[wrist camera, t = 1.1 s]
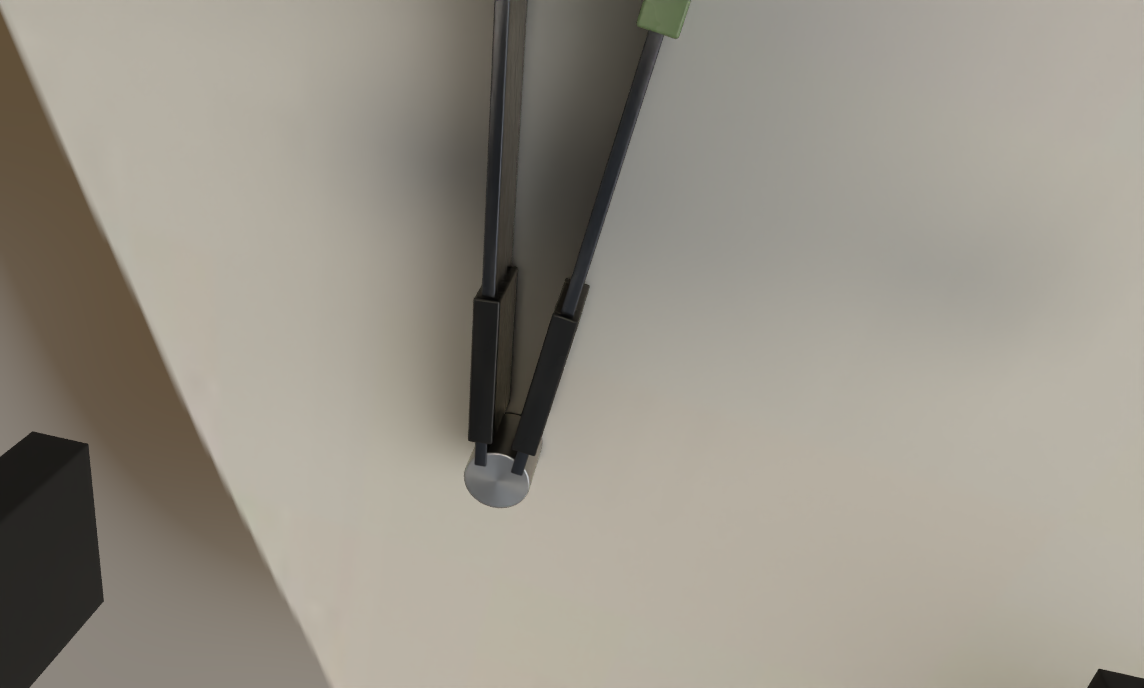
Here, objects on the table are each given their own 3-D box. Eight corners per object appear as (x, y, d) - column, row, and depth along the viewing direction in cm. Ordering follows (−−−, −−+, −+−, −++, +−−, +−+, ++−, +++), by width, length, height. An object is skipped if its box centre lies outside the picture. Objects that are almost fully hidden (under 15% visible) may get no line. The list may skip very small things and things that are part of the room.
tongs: (584, 483, 32) (573, 537, 29) (429, 447, 32) (404, 496, 30) (722, -105, 23) (724, -105, 21) (508, -150, 23) (482, -155, 21)
